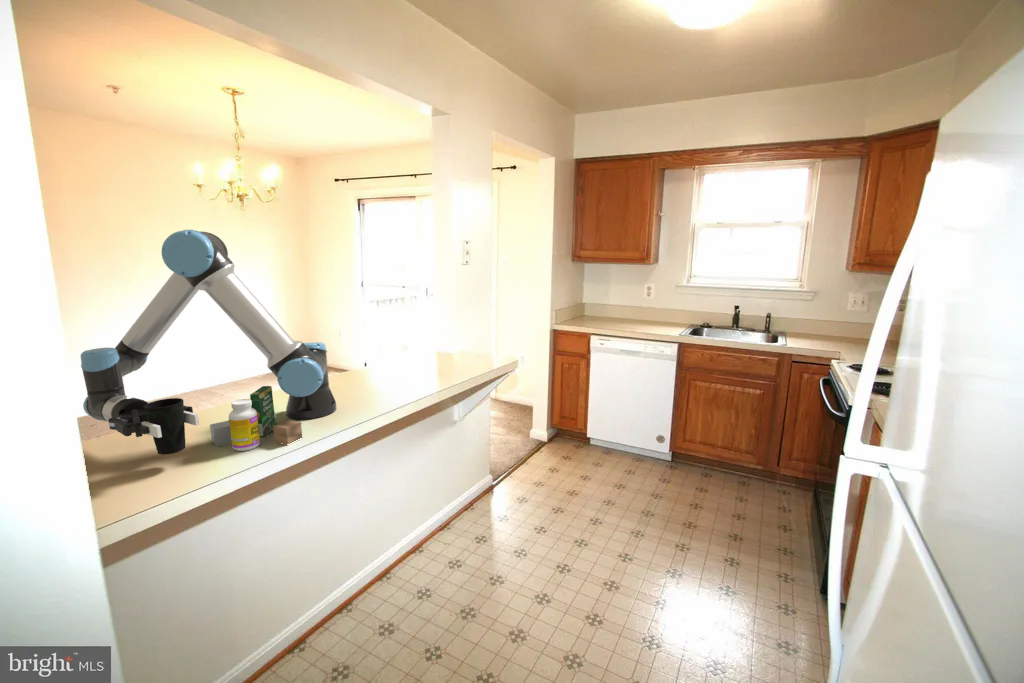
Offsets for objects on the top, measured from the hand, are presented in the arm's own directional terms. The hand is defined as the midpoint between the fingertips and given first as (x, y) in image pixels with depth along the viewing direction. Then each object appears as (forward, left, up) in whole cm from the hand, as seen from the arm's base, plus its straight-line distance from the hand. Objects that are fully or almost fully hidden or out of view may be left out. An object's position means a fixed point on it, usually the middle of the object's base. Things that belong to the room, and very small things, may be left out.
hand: (178, 425), depth 111 cm
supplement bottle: (-15, -3, -12) cm, 20 cm away
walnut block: (-24, +2, -12) cm, 27 cm away
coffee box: (-23, -9, -12) cm, 28 cm away
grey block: (-13, -12, -12) cm, 21 cm away
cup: (+1, -5, -7) cm, 9 cm away
